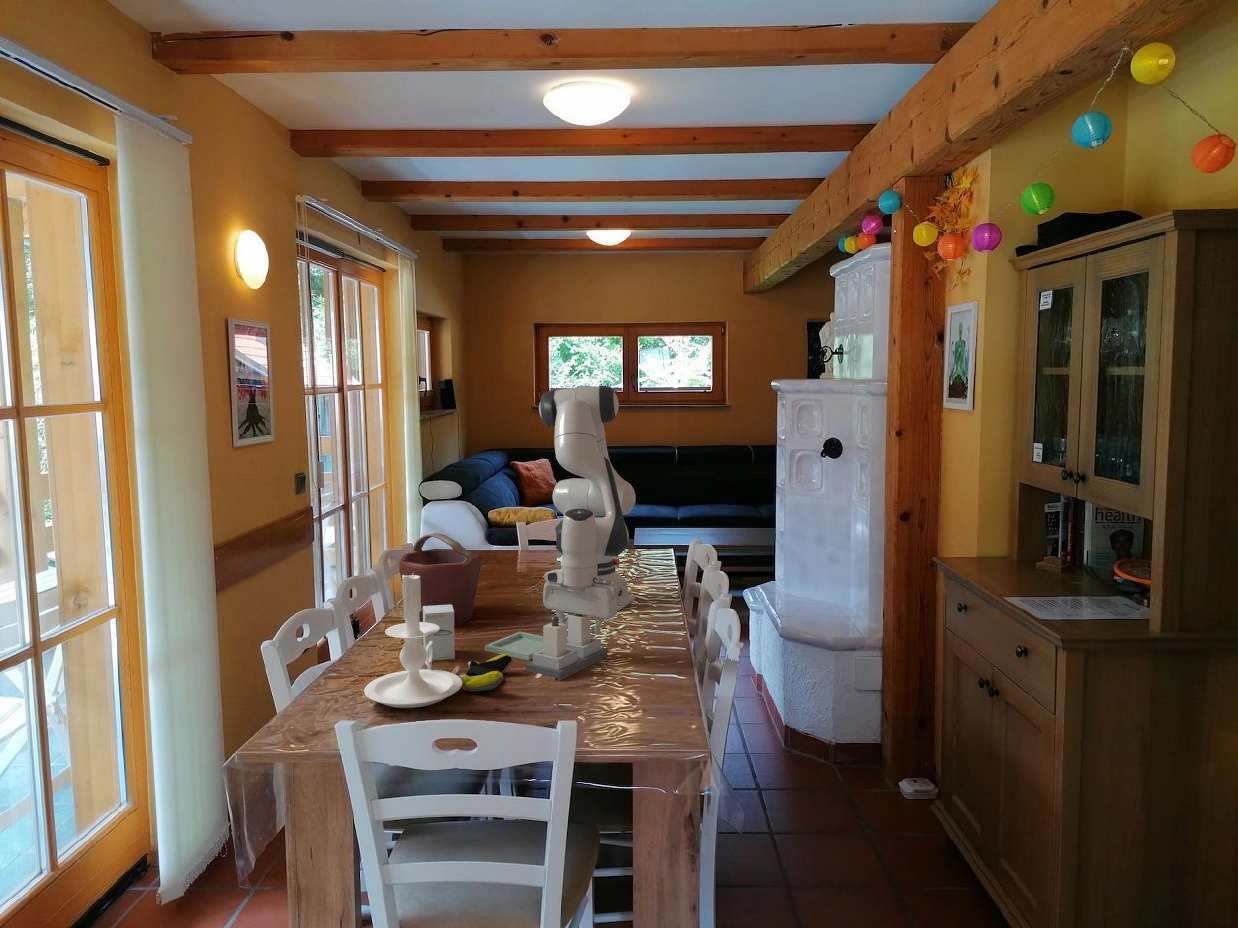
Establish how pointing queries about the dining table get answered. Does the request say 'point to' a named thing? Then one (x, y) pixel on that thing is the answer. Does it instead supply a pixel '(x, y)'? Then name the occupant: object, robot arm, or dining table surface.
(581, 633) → the plug
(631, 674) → the dining table surface
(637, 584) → the dining table surface
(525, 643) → the tray
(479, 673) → the yellow black curved piece
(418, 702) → the candlestick
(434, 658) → the supplement box
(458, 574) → the bucket
